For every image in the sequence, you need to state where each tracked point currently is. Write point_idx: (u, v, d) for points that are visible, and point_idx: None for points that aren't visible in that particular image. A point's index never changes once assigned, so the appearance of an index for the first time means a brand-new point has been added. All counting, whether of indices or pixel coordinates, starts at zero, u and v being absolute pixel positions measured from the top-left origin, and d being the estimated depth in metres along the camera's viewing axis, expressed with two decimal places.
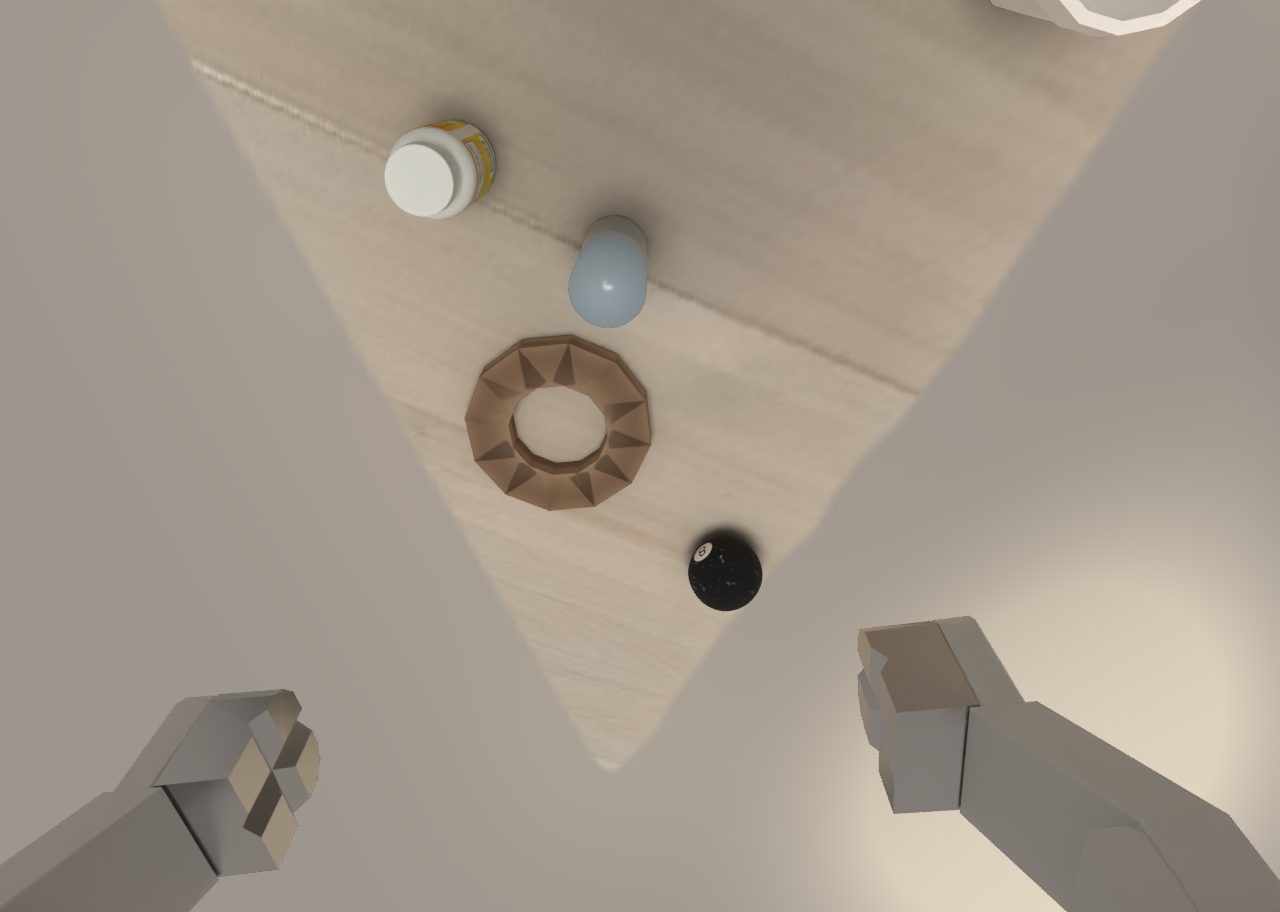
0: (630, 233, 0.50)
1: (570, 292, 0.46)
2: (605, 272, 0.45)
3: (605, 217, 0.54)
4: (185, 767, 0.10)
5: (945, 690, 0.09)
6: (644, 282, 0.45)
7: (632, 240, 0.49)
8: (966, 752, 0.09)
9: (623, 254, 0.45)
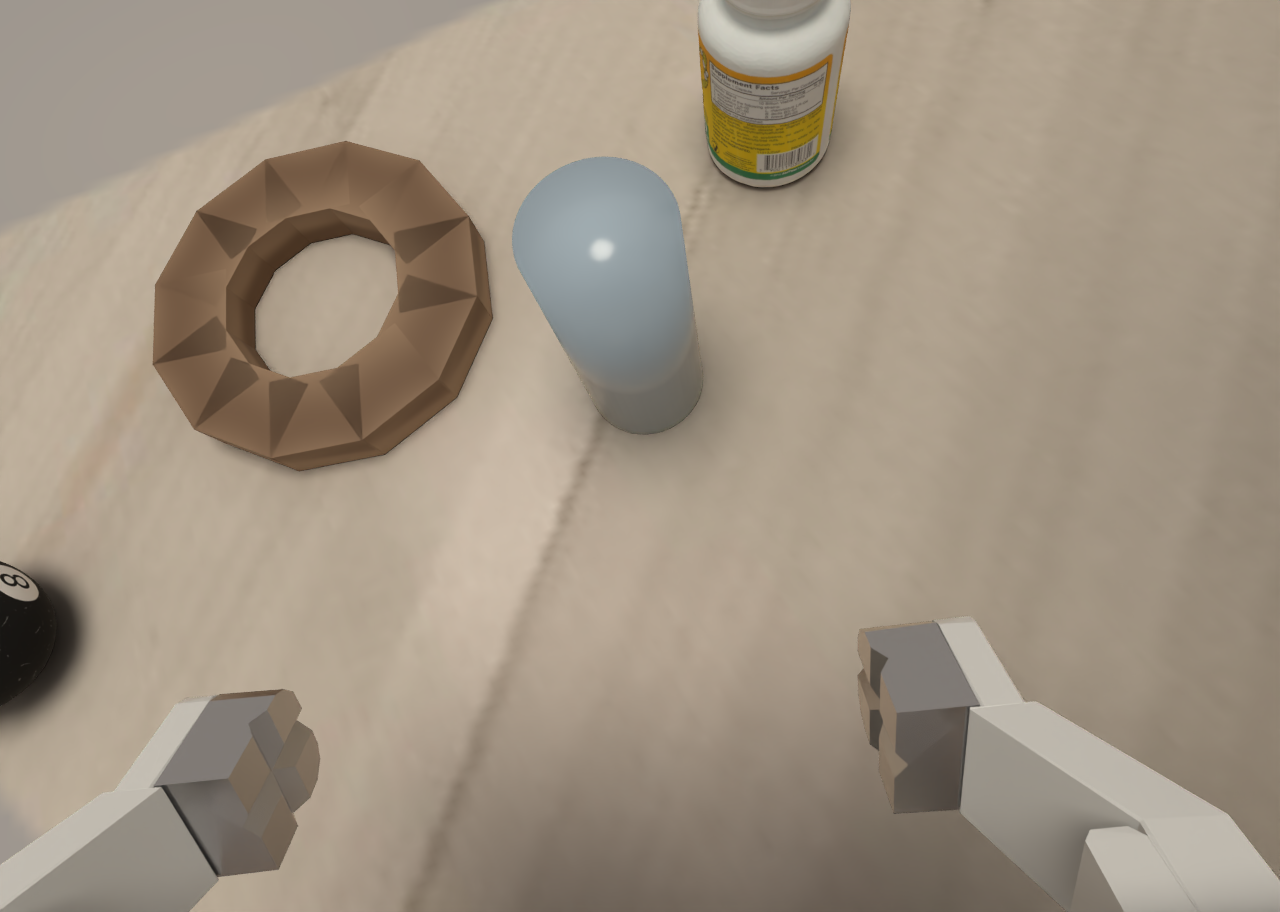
0: (688, 359, 0.26)
1: (588, 161, 0.21)
2: (633, 223, 0.21)
3: None
4: (185, 767, 0.10)
5: (945, 690, 0.09)
6: (615, 302, 0.20)
7: (681, 346, 0.25)
8: (966, 753, 0.09)
9: (674, 256, 0.20)
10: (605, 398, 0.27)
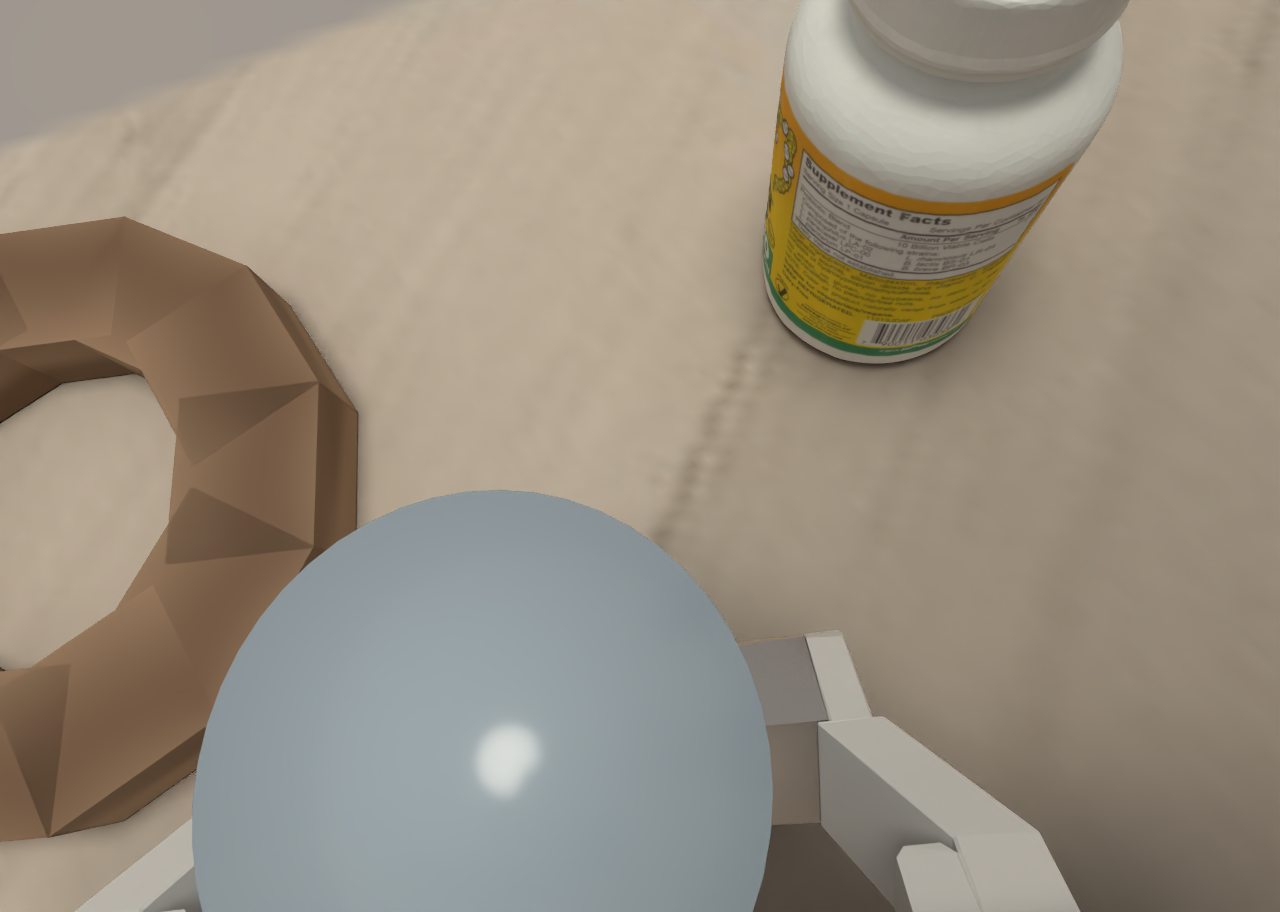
0: None
1: (477, 502, 0.07)
2: (605, 769, 0.06)
3: None
4: None
5: (798, 705, 0.09)
6: None
7: None
8: (819, 766, 0.09)
9: None
10: None
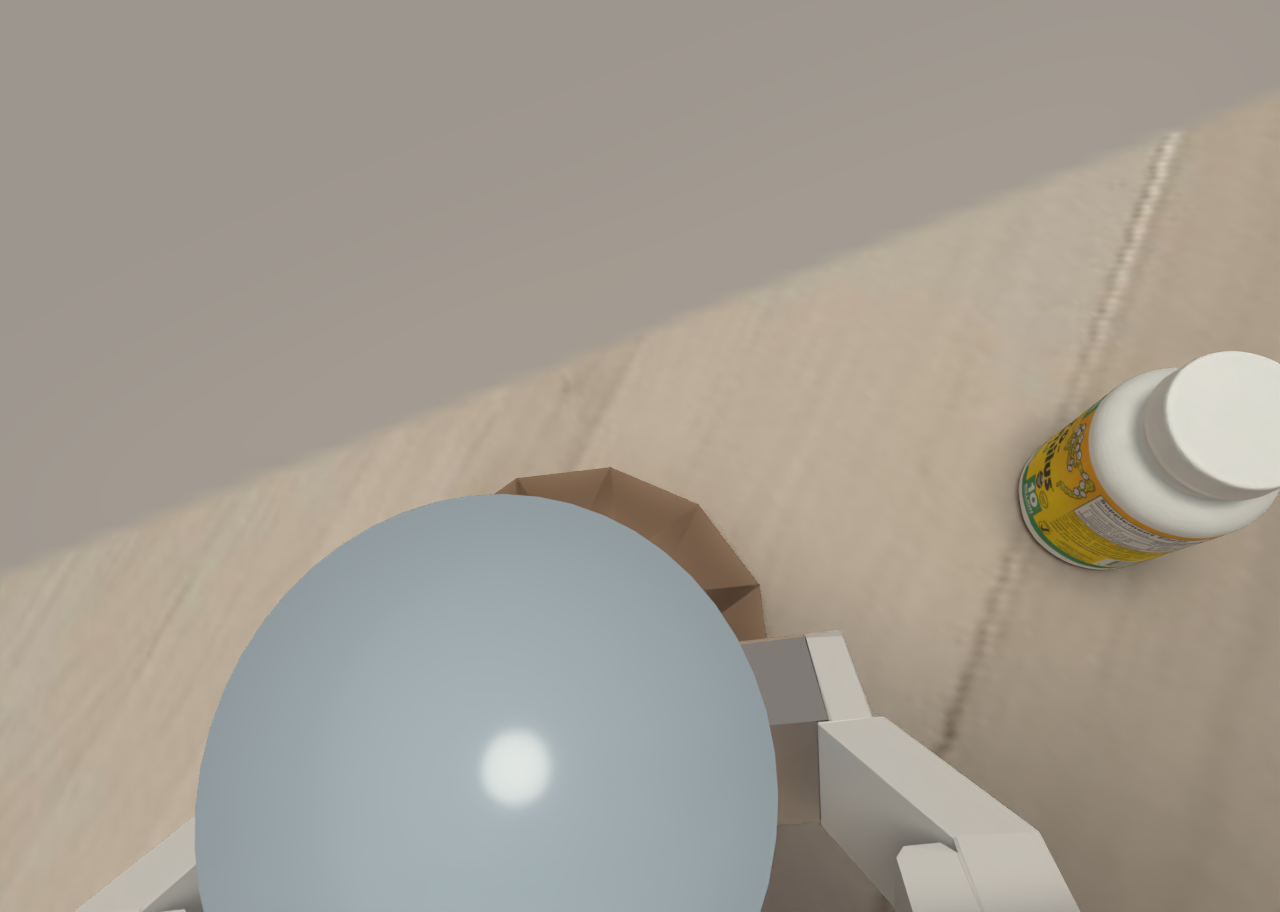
0: None
1: (481, 506, 0.07)
2: (608, 775, 0.06)
3: None
4: None
5: (798, 704, 0.09)
6: None
7: None
8: (819, 766, 0.09)
9: None
10: None
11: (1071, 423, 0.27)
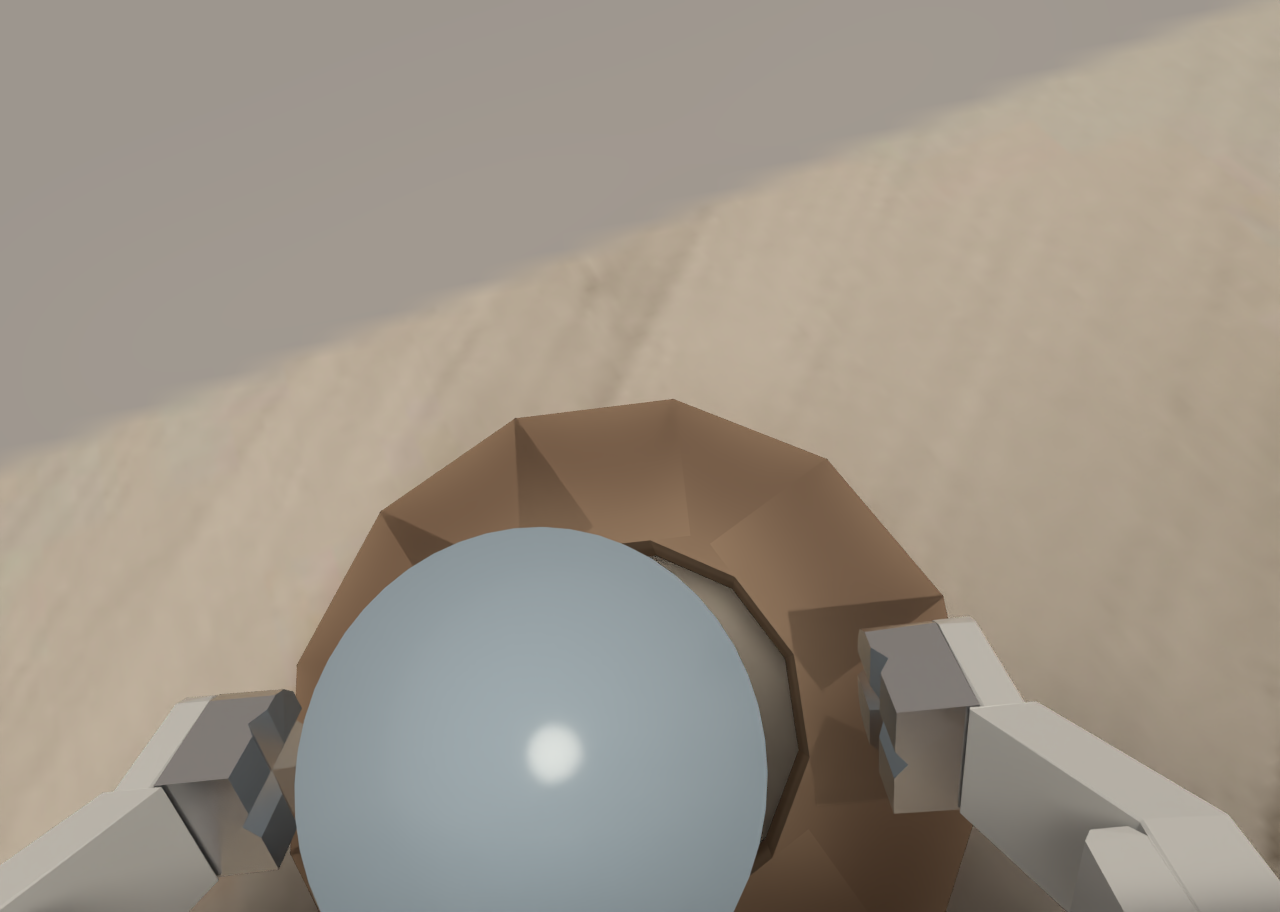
0: None
1: (524, 537, 0.08)
2: (631, 756, 0.07)
3: None
4: (185, 767, 0.10)
5: (945, 690, 0.09)
6: None
7: None
8: (966, 752, 0.09)
9: (744, 878, 0.07)
10: None
11: None
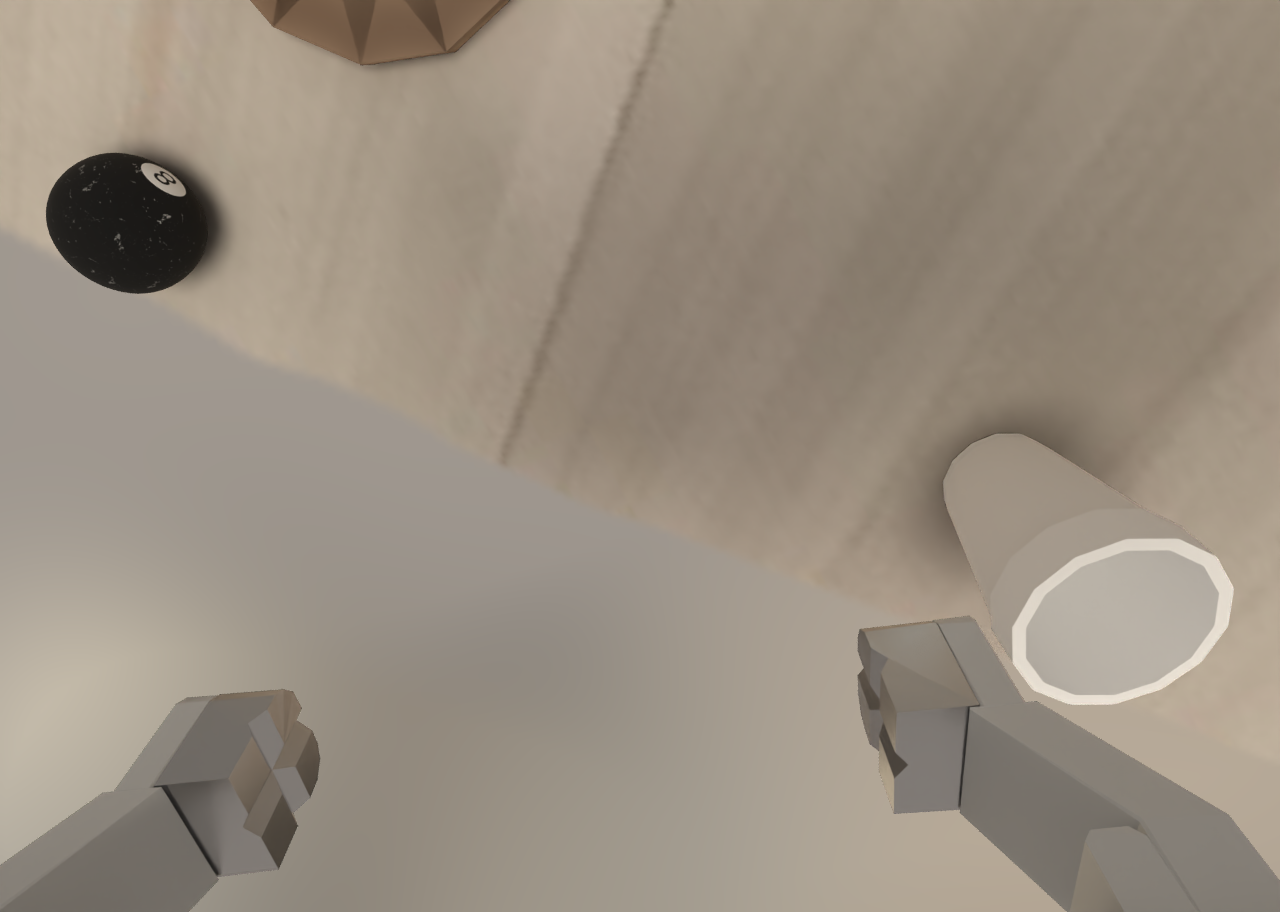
0: None
1: None
2: None
3: None
4: (185, 766, 0.10)
5: (945, 690, 0.09)
6: None
7: None
8: (966, 752, 0.09)
9: None
10: None
11: None
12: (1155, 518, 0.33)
